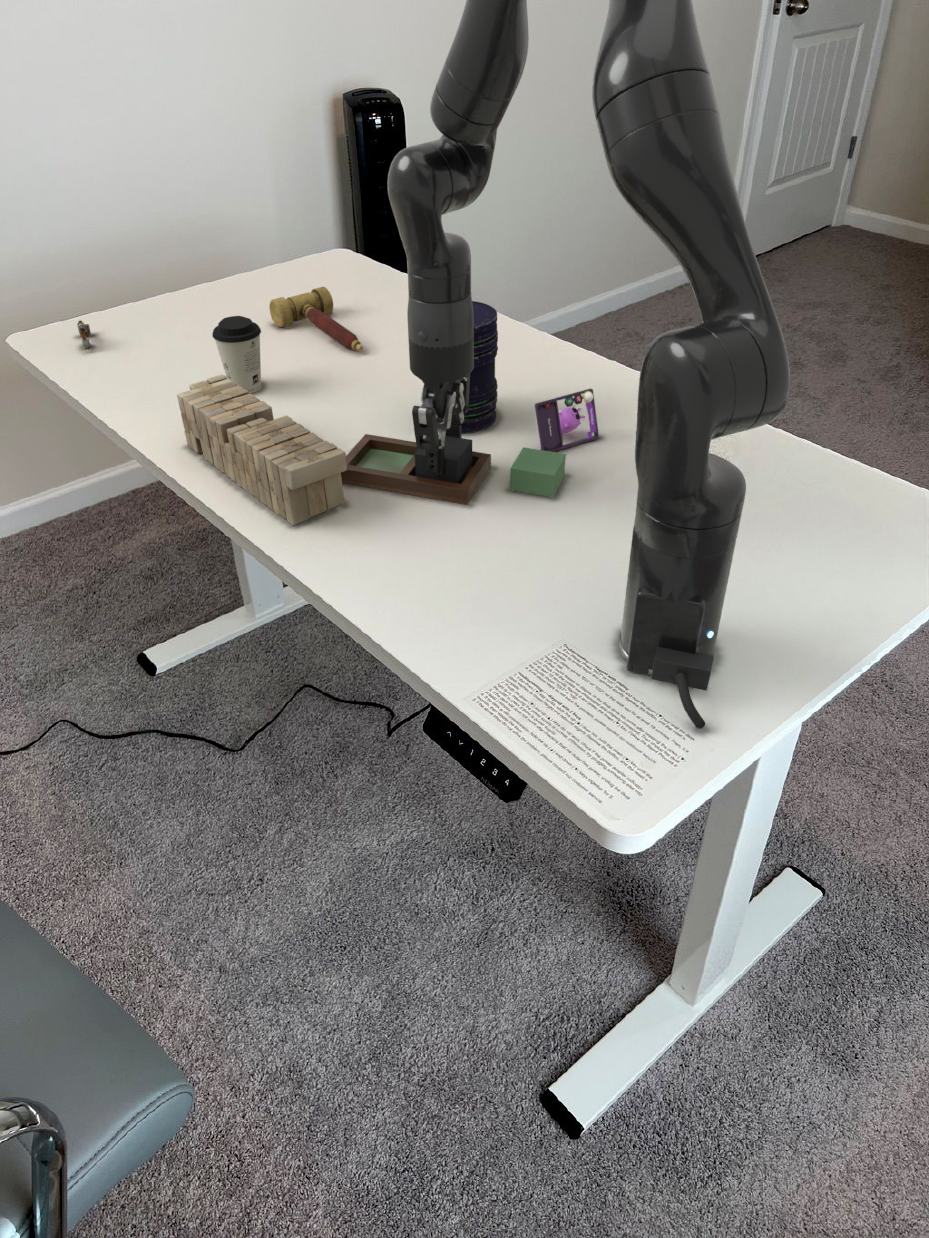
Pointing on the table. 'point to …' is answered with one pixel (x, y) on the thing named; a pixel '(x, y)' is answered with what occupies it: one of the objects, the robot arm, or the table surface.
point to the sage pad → (537, 472)
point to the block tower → (262, 449)
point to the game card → (564, 420)
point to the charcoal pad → (448, 460)
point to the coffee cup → (240, 351)
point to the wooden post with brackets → (84, 333)
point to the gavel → (313, 315)
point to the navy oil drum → (482, 371)
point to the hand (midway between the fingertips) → (444, 461)
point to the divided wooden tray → (408, 470)
